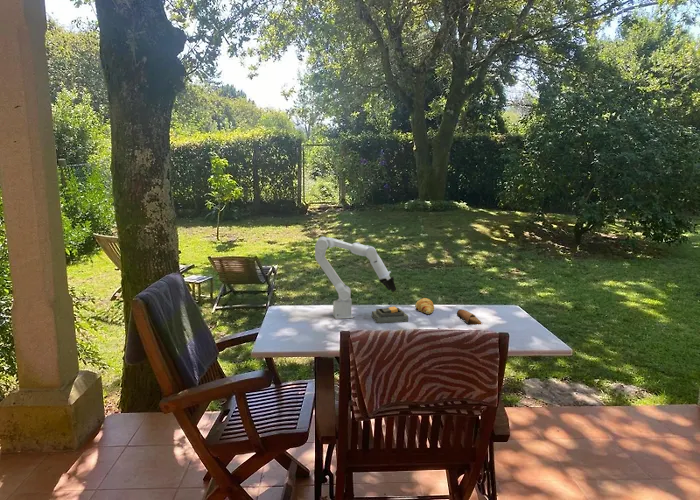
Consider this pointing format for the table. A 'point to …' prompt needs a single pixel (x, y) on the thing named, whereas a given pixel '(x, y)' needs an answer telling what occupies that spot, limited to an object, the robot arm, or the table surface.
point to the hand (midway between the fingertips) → (392, 290)
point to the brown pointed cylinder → (468, 317)
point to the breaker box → (389, 316)
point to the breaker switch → (390, 310)
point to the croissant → (425, 305)
